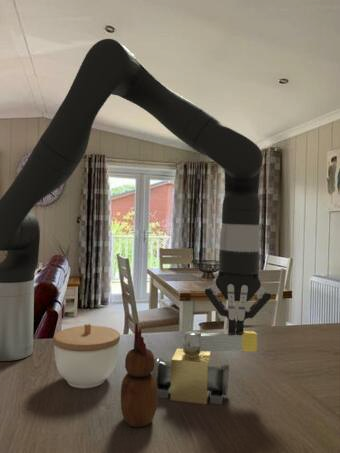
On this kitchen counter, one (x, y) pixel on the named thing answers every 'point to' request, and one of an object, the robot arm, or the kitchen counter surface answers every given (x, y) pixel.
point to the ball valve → (191, 378)
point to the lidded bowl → (86, 354)
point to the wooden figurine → (139, 384)
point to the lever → (219, 342)
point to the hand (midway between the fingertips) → (235, 338)
